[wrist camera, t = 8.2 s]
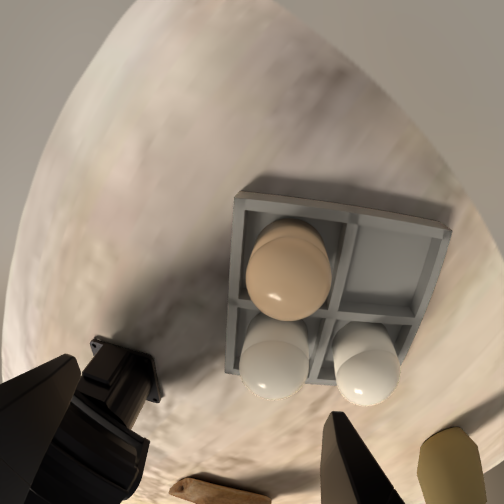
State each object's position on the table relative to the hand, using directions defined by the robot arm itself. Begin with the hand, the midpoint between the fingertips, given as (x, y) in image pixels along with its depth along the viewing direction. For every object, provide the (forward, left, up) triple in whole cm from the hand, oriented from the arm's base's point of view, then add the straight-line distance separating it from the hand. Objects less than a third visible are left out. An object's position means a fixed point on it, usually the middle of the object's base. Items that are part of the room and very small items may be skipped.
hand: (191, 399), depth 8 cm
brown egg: (+1, -3, -10) cm, 11 cm away
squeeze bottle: (-21, -26, -11) cm, 35 cm away
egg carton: (-2, -6, -11) cm, 13 cm away
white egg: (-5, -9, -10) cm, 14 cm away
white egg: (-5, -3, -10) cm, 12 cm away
